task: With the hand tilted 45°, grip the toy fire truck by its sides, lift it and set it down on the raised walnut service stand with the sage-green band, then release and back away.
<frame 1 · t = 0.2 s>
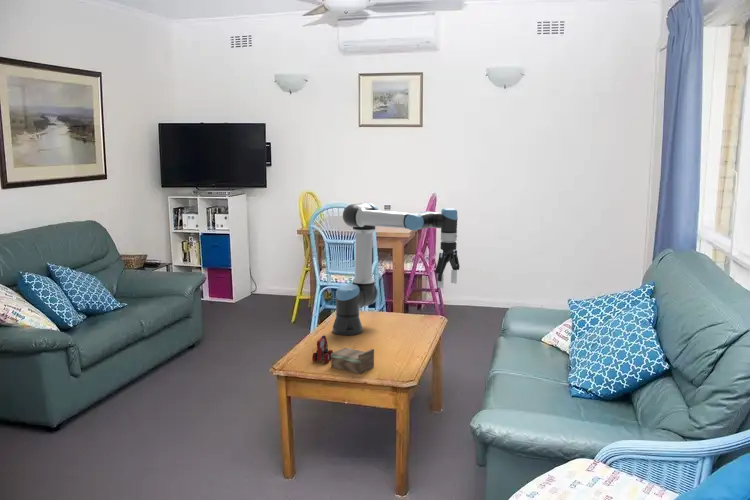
hand: (447, 285, 297), 28 cm above the table, tool pointing down, fingers open, 13 cm apart
stand: (352, 367, 263), on the table
toy fire truck: (322, 360, 272), on the table
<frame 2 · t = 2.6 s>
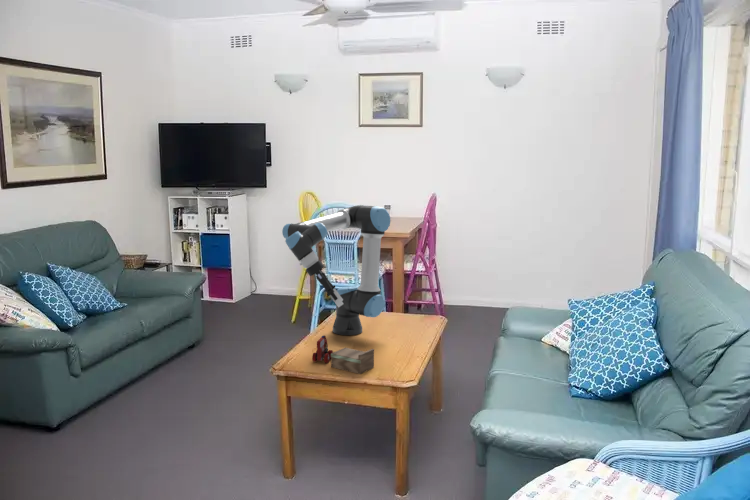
hand: (341, 303, 270), 25 cm above the table, tool tilted 35°, fingers open, 13 cm apart
nothing on the table moved.
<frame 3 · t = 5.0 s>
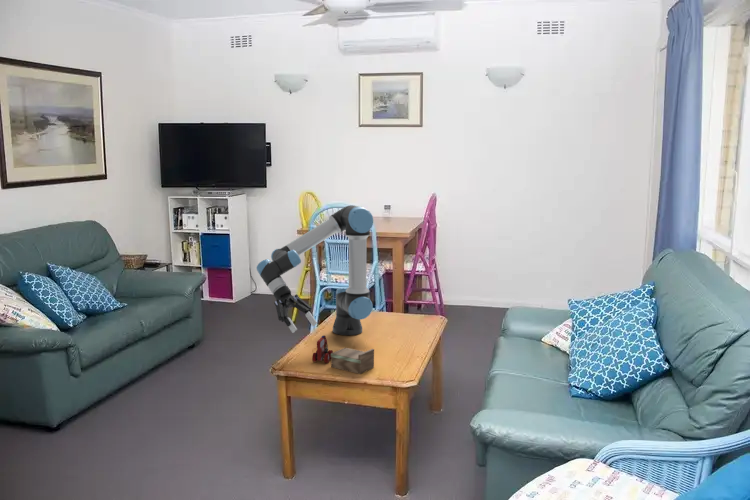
hand: (305, 327, 274), 13 cm above the table, tool tilted 45°, fingers open, 13 cm apart
nothing on the table moved.
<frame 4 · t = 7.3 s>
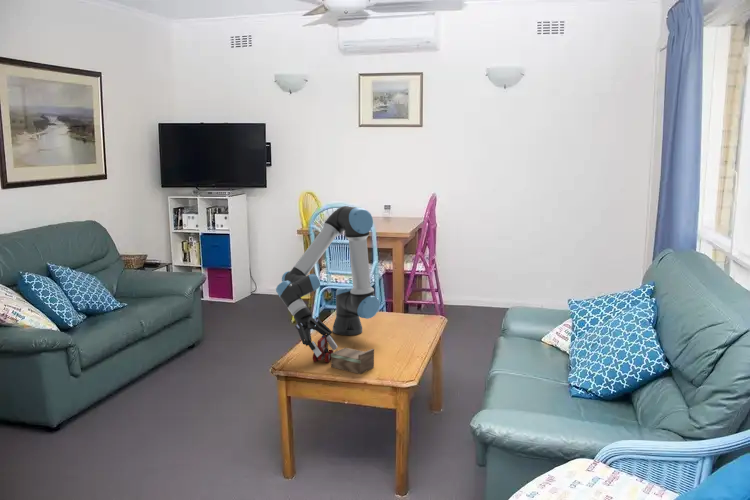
hand: (327, 352, 269), 4 cm above the table, tool tilted 45°, fingers closed on toy fire truck, 11 cm apart
toy fire truck: (323, 360, 272), on the table, touching gripper
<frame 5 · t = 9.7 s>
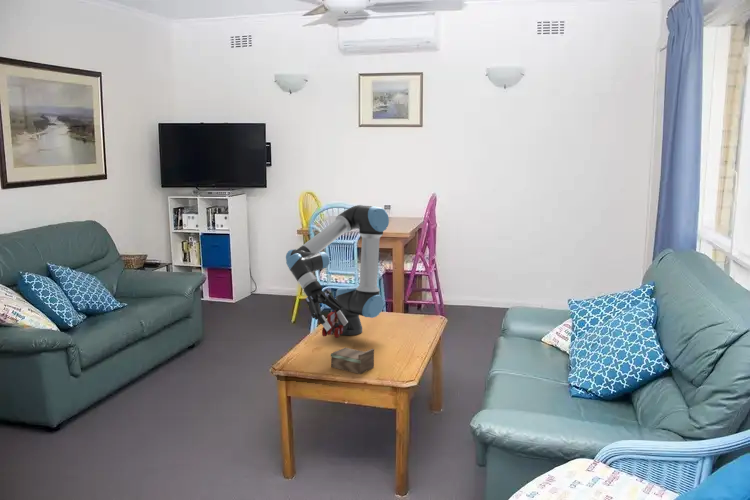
hand: (337, 326, 262), 17 cm above the table, tool tilted 45°, fingers closed on toy fire truck, 11 cm apart
toy fire truck: (332, 335, 265), point 13 cm above the table, touching gripper
when the fingers open (11 cm above the table, at t = 11.7 s): toy fire truck drops 1 cm, resting on stand.
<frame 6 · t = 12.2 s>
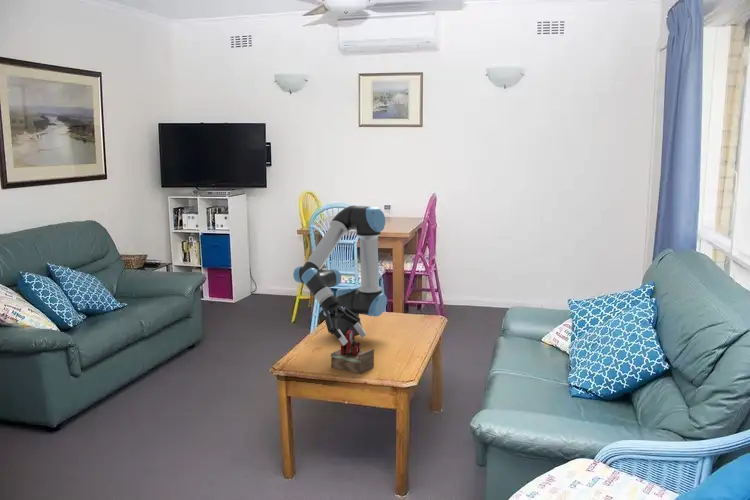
hand: (355, 339, 260), 12 cm above the table, tool tilted 45°, fingers open, 13 cm apart
toy fire truck: (350, 353, 263), point 6 cm above the table, touching stand
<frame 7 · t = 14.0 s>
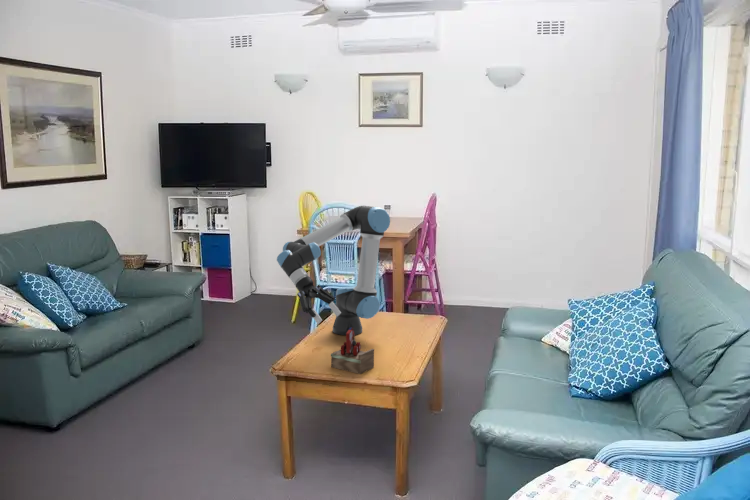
hand: (329, 318, 269), 19 cm above the table, tool tilted 45°, fingers open, 13 cm apart
nothing on the table moved.
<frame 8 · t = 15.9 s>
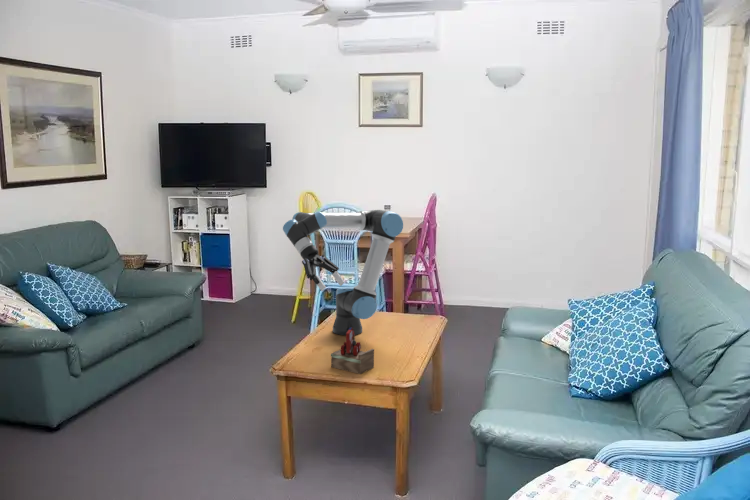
hand: (333, 286, 272), 32 cm above the table, tool tilted 45°, fingers open, 13 cm apart
nothing on the table moved.
at the end: toy fire truck inside the target area on the stand (1.1 cm from its centre), point 5.8 cm above the stand's base; toy fire truck tilted 0°; the gripper is holding nothing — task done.
